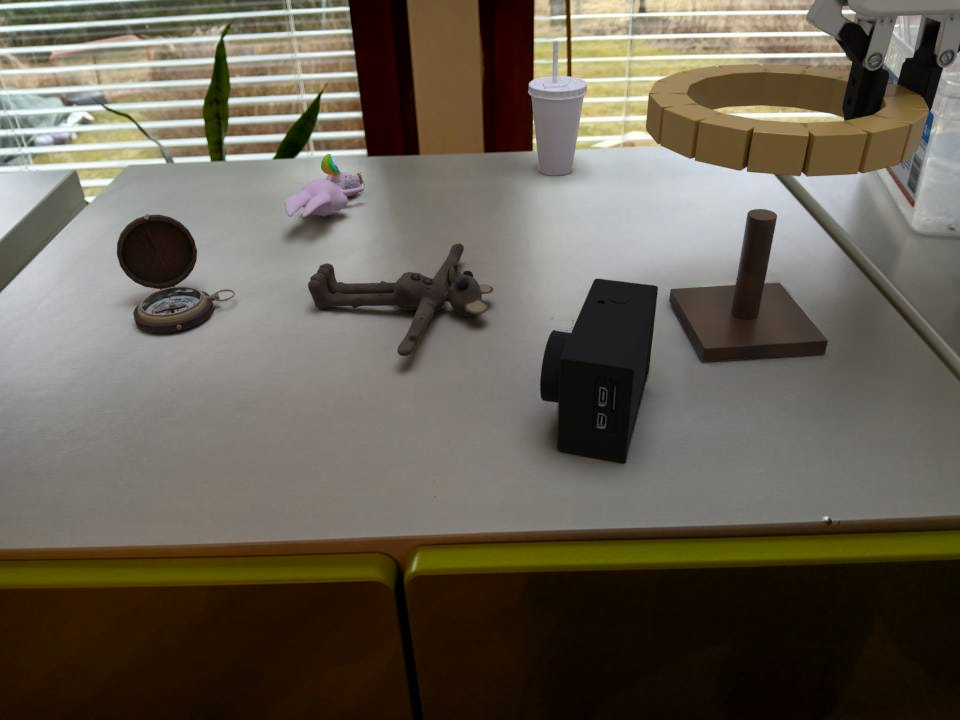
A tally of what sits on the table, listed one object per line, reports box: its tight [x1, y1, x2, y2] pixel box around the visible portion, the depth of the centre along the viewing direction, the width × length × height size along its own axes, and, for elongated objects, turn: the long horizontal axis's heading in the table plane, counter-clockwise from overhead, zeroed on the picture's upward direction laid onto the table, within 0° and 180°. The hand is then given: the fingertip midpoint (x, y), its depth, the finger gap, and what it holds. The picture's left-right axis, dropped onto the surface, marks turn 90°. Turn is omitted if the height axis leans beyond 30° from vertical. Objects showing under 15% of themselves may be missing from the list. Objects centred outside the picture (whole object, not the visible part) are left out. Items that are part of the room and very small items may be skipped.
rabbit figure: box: [284, 153, 366, 218], centre depth 80 cm, size 6×6×15 cm
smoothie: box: [527, 40, 588, 177], centre depth 87 cm, size 6×6×14 cm
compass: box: [116, 213, 236, 334], centre depth 64 cm, size 8×8×7 cm
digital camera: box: [539, 278, 659, 464], centre depth 51 cm, size 10×5×7 cm, turn 162°
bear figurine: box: [307, 242, 494, 357], centre depth 64 cm, size 18×4×14 cm
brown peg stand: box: [668, 208, 829, 363], centre depth 58 cm, size 9×9×9 cm
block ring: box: [645, 63, 930, 178], centre depth 52 cm, size 17×17×2 cm
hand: (882, 124), depth 53 cm, fingers closed on block ring, 2 cm apart
